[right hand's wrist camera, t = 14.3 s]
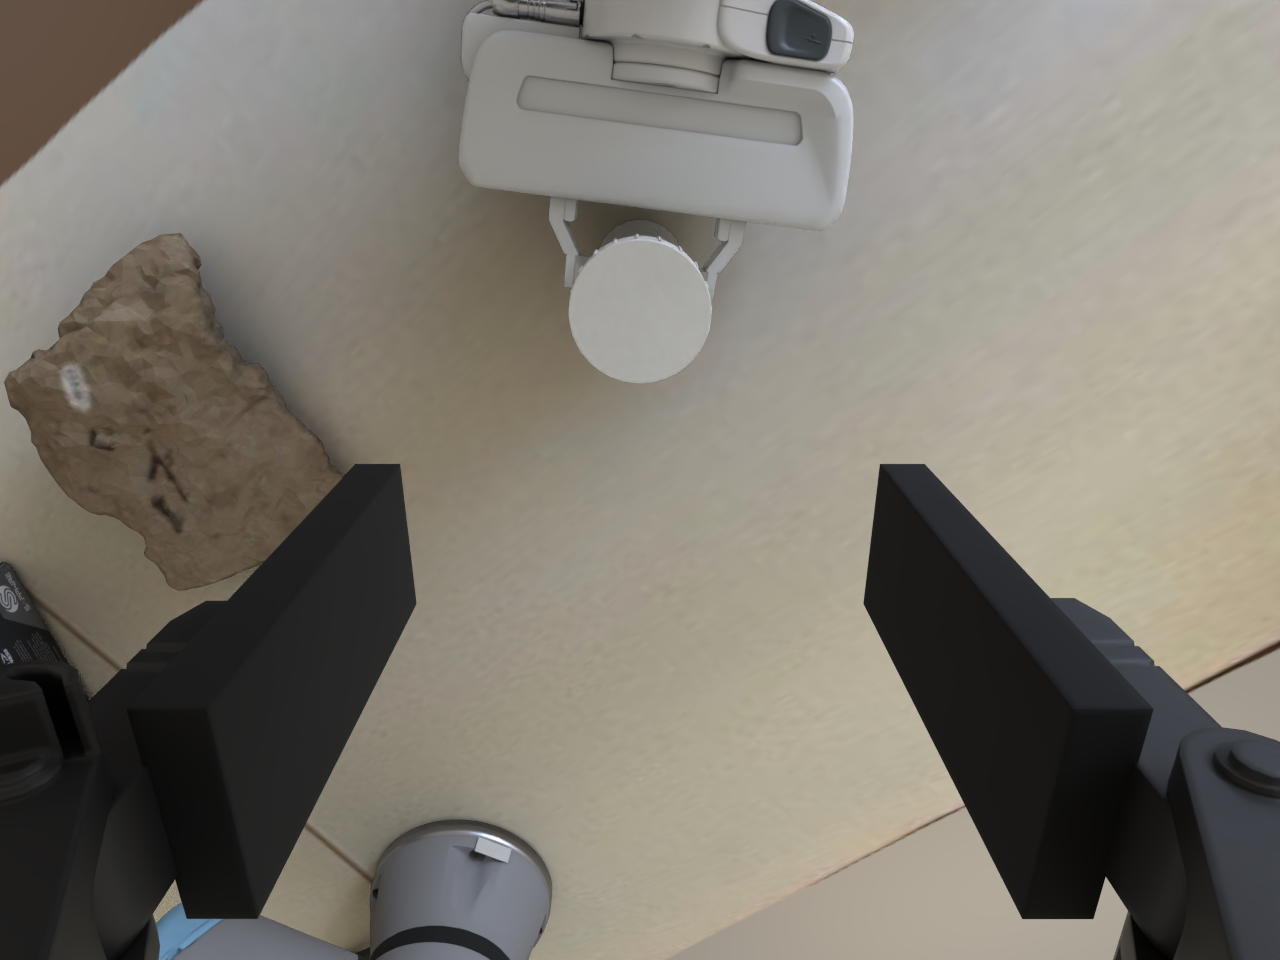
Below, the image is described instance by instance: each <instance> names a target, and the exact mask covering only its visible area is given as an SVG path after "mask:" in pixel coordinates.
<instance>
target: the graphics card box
mask: <svg viewBox="0 0 1280 960" xmlns="http://www.w3.org/2000/svg"><path fill="white" fill-rule="evenodd" d="M34 660H50V661H59V662H65V663H67V661H66V659H65V657H64V656H63V654H62V652H61V651H60V649H59V647H58V645H57V643H56V642H55V640H54V638H53V636H52V635H51V634H50V632H49V630H48V628H47V626H46V624H45V623H44V621H43V619H42V618H41V616H40V614H39V613H38V611H37V609H36V607H35V606H34V604H33V602H32V601H31V599H30V597H29V595H28V594H27V592H26V591H25V588H24V587H23V585H22V583H21V582H20V580H19V578H18V576H17V575H16V572H15V571H14V570H13V568H12V567H11V565H9V564H8V563H6V562H2V563H0V666H3V665H6V664H10V663H16V662H25V661H34ZM67 664H68V663H67ZM68 665H69V664H68ZM84 693H85V692H84ZM85 696H86V699H87V702H89V701H90V700H89V699H88V697H87V695H86V693H85Z"/></svg>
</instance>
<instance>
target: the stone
mask: <svg viewBox="0 0 1280 960" xmlns="http://www.w3.org/2000/svg"><path fill="white" fill-rule="evenodd" d="M200 266H201V260H200V256H199V255H198V254H197V252H196V251H195V250H194V249H193V248H192V247H191V246H190V245H189V244H188V242H187V241H186V239H185V238H184V237H183V236H182V235H181V233H179V234H166V235H160V236H158V237H156V238H154V239H153V240H150V241H147V242H144V243H142V244H140V245H139V246H137V247H136V248H134V249H133V250H132V251H131V252H129V253H128V254H127V255H125V256H124V257H123V258H122V259H120V260H119V261H118V262H117V263H115V264H114V265H113V266H112V267H111V268H110V269H109V271H108V272H107V274H106V275H105V277H103V278H102V279H100V280H98V281H96V282H94V283H93V285H92V286H91V288H90V289H89V290H88V291H87V292H86V293H85V294H84V296H83V298H82V300H81V302H80V304H79V306H78V307H77V308H75V309H74V310H73V311H72V313H71V314H70V315H69V316H68V317H66V318H65V319H64V320H62V321H61V322H60V324H59V327H58V332H59V337H60V339H59V340H58V341H57V342H56V343H55V344H54V345H53V346H52V347H51V348H50V349H49V350H47V351H44V350H40V349H39V350H37V351H34V352H33V353H32V356H31V358H30V359H29V360H28V361H27V362H25V363H24V364H23V365H22V366H21V367H19V368H18V369H17V370H15V371H12V372H10V373H9V374H8V376H7V378H6V380H5V381H4V383H5V387H6V391H7V395H8V398H9V402H10V405H11V407H12V408H14V409H16V410H18V411H19V412H20V413H21V414H22V415H23V416H24V417H25V418H26V421H27V423H28V426H29V428H30V430H31V441H32V443H33V444H34V445H35V446H36V448H37V451H38V453H39V456H40V458H41V460H42V462H43V463H44V465H45V466H46V468H47V469H48V471H49V472H50V474H51V475H52V477H53V478H54V479H55V481H56V482H57V483H58V485H59V486H60V487H61V488H62V490H63V491H64V492H65V493H66V494H67V496H68V497H70V498H71V499H73V500H74V501H75V502H76V503H77V504H79V505H80V506H81V507H82V508H84V509H85V510H87V511H89V512H91V513H94V514H98V515H108V516H111V517H114V518H117V519H119V520H120V521H122V522H123V523H124V524H125V525H127V526H128V527H129V528H131V529H133V530H135V531H137V532H139V533H140V534H141V535H142V536H143V537H144V539H145V543H146V549H145V552H144V555H145V557H147V558H148V559H150V560H151V561H153V562H154V563H155V564H156V565H157V566H158V567H159V569H160V570H161V572H162V573H163V574H164V575H165V579H166V582H167V583H168V585H169V586H170V587H172V588H174V589H176V590H179V591H180V590H188V589H191V588H197V587H202V586H205V585H208V584H212V583H215V582H218V581H221V580H224V579H227V578H229V577H231V576H233V575H235V574H237V573H238V572H241V571H243V570H246V569H249V568H252V567H255V566H257V565H260V564H261V563H263V562H264V561H265V560H266V559H267V558H268V557H269V556H270V555H271V554H272V553H273V552H274V551H275V550H276V548H277V547H278V546H279V545H280V544H281V543H282V542H283V541H284V540H285V539H286V538H287V537H288V536H289V535H290V533H291V532H292V531H293V530H294V529H295V528H296V527H297V526H298V525H299V524H300V523H301V522H302V521H303V520H304V519H305V517H306V516H307V515H308V514H309V513H310V512H311V511H312V510H313V509H314V508H315V507H316V506H317V505H318V504H319V503H320V501H321V500H322V499H323V498H324V497H325V496H326V495H327V494H328V493H329V492H330V491H331V490H332V489H333V488H334V487H335V485H336V484H337V483H338V482H339V481H340V480H341V479H342V478H343V475H342V474H341V473H340V472H339V471H338V470H337V469H335V468H334V467H333V466H331V464H330V463H329V458H328V456H327V454H326V453H325V450H324V447H323V444H322V441H321V440H320V439H319V438H318V437H317V436H316V435H315V434H314V433H312V432H311V431H309V430H308V429H306V427H305V425H304V424H302V423H301V422H299V421H297V420H296V419H295V417H294V416H293V415H292V414H291V413H290V412H289V411H288V409H287V406H286V403H285V401H284V399H283V397H282V396H281V395H280V394H279V393H278V392H277V391H276V390H275V389H274V387H273V386H272V384H271V382H270V380H269V378H268V375H267V372H266V371H265V369H264V368H263V367H262V366H261V365H260V364H258V363H245V362H243V361H242V358H241V355H240V353H239V352H238V351H237V350H236V349H235V348H234V347H233V346H231V345H230V344H228V342H227V340H226V339H224V336H223V332H222V327H221V325H220V324H219V323H218V321H217V320H215V319H214V312H215V307H214V305H213V302H212V300H211V297H210V295H209V294H208V293H207V292H206V291H205V290H204V289H203V287H202V285H201V277H200V273H199V271H198V269H199V267H200Z"/></svg>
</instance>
